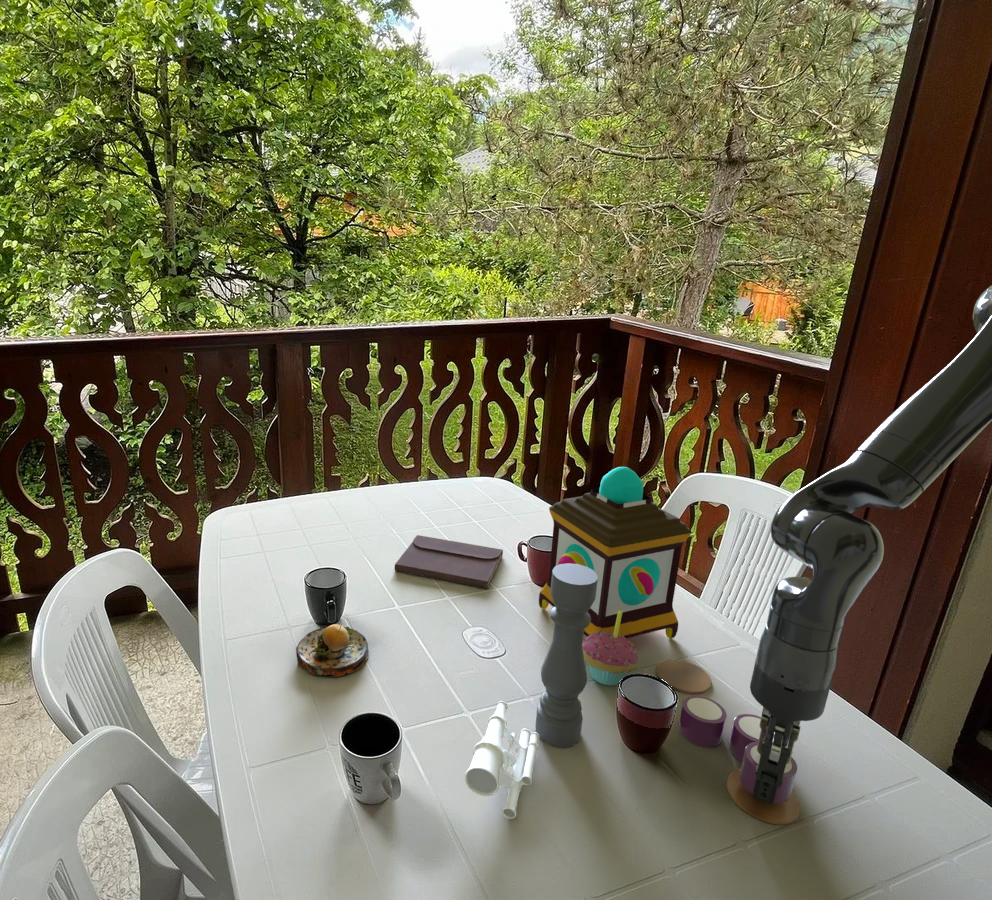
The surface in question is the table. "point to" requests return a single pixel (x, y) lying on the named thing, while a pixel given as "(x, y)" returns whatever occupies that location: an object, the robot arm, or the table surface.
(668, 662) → the far coaster
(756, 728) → the middle dish
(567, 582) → the candle holder
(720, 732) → the purple cream-topped cylinder
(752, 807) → the near coaster
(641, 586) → the decorative lantern
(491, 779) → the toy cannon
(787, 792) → the purple short cylinder
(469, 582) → the brown flap folio case
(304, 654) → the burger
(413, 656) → the table surface
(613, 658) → the cupcake
